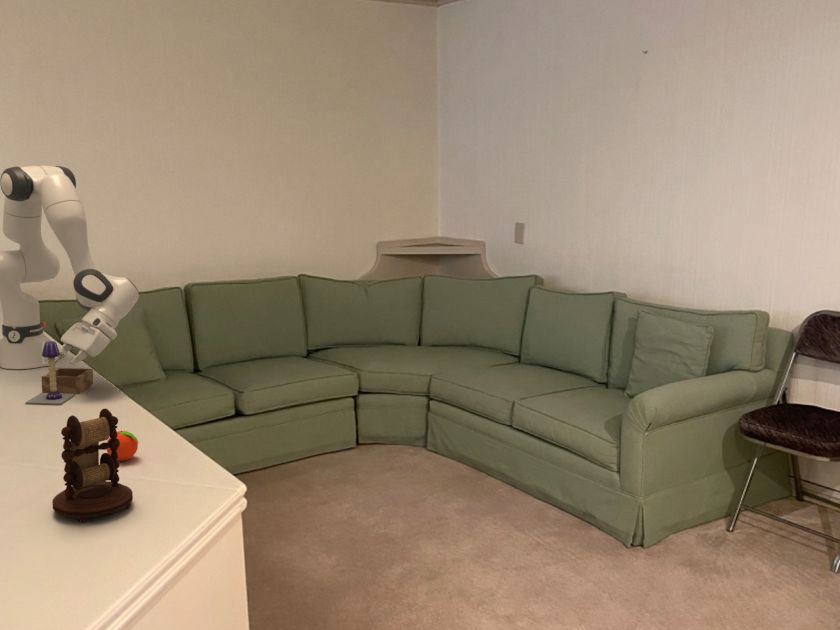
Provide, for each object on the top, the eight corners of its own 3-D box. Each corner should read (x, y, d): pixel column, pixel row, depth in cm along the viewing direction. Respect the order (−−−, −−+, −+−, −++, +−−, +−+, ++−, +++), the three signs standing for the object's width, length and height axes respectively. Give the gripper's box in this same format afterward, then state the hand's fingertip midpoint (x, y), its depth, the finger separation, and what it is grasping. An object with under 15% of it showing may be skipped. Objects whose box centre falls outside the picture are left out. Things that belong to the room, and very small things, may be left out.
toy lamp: (56, 400, 225) (54, 343, 223) (40, 399, 225) (38, 343, 223) (64, 396, 230) (62, 340, 227) (49, 395, 230) (47, 339, 227)
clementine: (148, 457, 185) (147, 428, 184) (130, 467, 179) (129, 437, 177) (119, 453, 187) (118, 424, 186) (100, 463, 181) (99, 433, 179)
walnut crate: (57, 383, 245) (57, 367, 244) (93, 384, 246) (92, 368, 245) (42, 392, 234) (41, 376, 234) (79, 393, 235) (78, 377, 234)
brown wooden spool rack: (108, 488, 167) (105, 397, 163) (147, 508, 157) (144, 412, 154) (39, 509, 155) (34, 412, 152) (76, 532, 146) (71, 429, 143)
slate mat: (40, 394, 233) (40, 393, 232) (75, 395, 233) (75, 393, 233) (25, 404, 223) (25, 402, 223) (60, 405, 223) (60, 403, 223)
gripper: (75, 313, 240) (43, 348, 234) (104, 323, 225) (71, 361, 220) (90, 325, 243) (59, 360, 238) (119, 336, 229) (87, 374, 224)
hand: (65, 361), depth 229 cm, fingers open, 8 cm apart
